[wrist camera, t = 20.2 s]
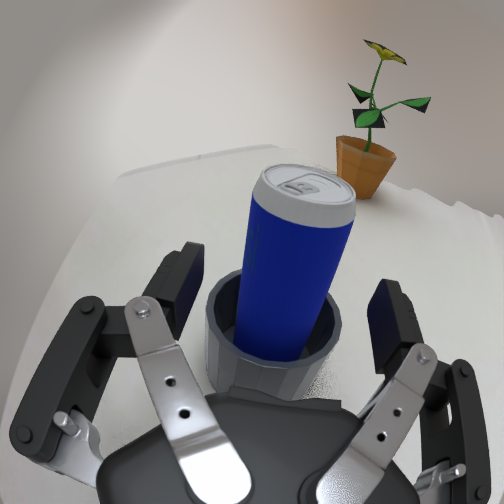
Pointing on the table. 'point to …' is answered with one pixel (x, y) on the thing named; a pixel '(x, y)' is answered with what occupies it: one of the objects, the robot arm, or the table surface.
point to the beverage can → (290, 257)
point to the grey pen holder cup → (255, 369)
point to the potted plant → (369, 139)
